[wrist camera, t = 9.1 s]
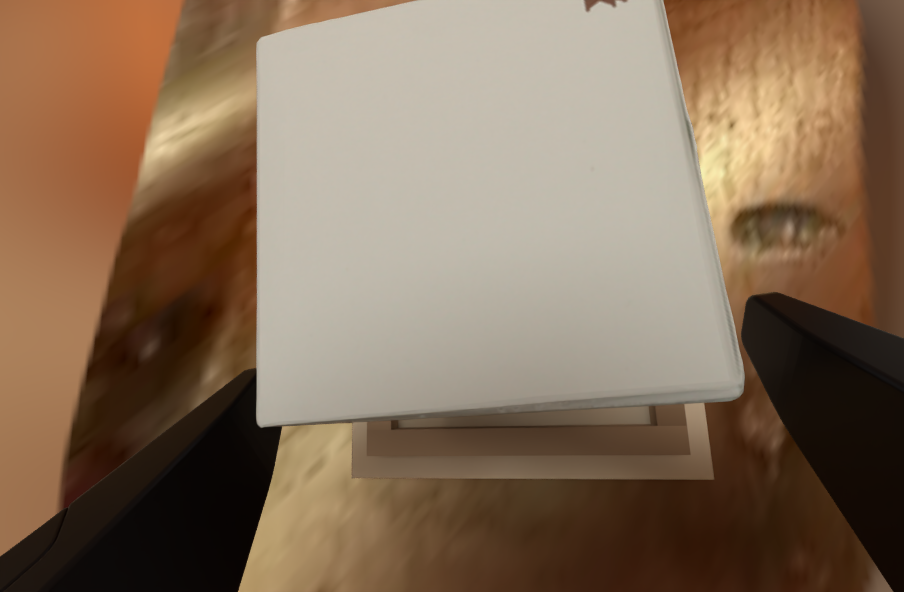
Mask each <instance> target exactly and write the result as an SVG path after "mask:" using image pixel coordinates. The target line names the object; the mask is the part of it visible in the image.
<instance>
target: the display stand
mask: <svg viewBox="0 0 904 592" xmlns="http://www.w3.org/2000/svg"><path fill="white" fill-rule="evenodd" d="M352 478H442V479H688V480H714V474H713V466H712V459H711V451H710V444H709V436H708V429H707V421H706V414H705V406H704V403H692V404H676V405H660V406H642V407H624V408H606V409H588V410H570V411H552V412H534V413H516V414H498V415H481V416H463V417H445V418H427V419H409V420H391V421H372V422H353V427H352Z"/></svg>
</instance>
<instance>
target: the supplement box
mask: <svg viewBox="0 0 904 592" xmlns="http://www.w3.org/2000/svg"><path fill="white" fill-rule="evenodd" d="M256 63H257V401H256V420H257V425H258V426H260V427H261V428H262V427H278V426H297V425H316V424H334V423H353V422H372V421H391V420H409V419H427V418H445V417H463V416H481V415H498V414H516V413H534V412H552V411H570V410H588V409H606V408H624V407H642V406H660V405H676V404H692V403H708V402H724V401H732V400H735V399H737V398H738V397H740V396H741V394H742V393H743V391H744V379H745V375H744V368H743V362H742V358H741V355H740V351H739V346H738V341H737V336H736V330H735V325H734V321H733V316H732V312H731V308H730V304H729V300H728V296H727V292H726V288H725V283H724V278H723V274H722V269H721V264H720V260H719V255H718V250H717V246H716V241H715V236H714V232H713V227H712V223H711V218H710V214H709V209H708V205H707V200H706V196H705V191H704V186H703V182H702V177H701V171H700V165H699V159H698V154H697V146H696V141H695V137H694V131H693V126H692V123H691V120H690V118H689V115H688V112H687V108H686V103H685V99H684V95H683V90H682V84H681V80H680V76H679V71H678V67H677V62H676V58H675V53H674V49H673V44H672V39H671V35H670V30H669V25H668V21H667V16H666V11H665V7H664V2H663V0H417V1H413V2H408V3H403V4H399V5H394V6H390V7H386V8H381V9H377V10H372V11H368V12H363V13H359V14H355V15H350V16H346V17H342V18H338V19H331V20H327V21H323V22H319V23H313V24H308V25H304V26H300V27H296V28H292V29H287V30H284V31H281V32H278V33H275V34H271V35H268V36H264V37H261V38H260V40H259V41H258V42H257V49H256Z"/></svg>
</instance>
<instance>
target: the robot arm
mask: <svg viewBox="0 0 904 592" xmlns="http://www.w3.org/2000/svg"><path fill="white" fill-rule="evenodd" d="M741 338H742V342H743V345H744V348H745V350H746V352H747V354H748V356H749V358H750V360H751V362H752V364H753V366H754V368H755V370H756V372H757V374H758V376H759V378H760V380H761V382H762V384H763V386H764V388H765V390H766V392H767V394H768V396H769V398H770V400H771V402H772V404H773V406H774V408H775V409H776V411H777V413H778V415H779V417H780V419H781V420H782V422H783V424H784V425H785V427H786V429H787V430H788V432H789V433H790V435H791V436H792V438H793V439H794V441H795V443H796V444H797V446H798V447H799V449H800V450H801V452H802V453H803V455H804V456H805V458H806V459H807V461H808V462H809V464H810V465H811V467H812V468H813V470H814V471H815V473H816V475H817V476H818V478H819V479H820V481H821V482H822V484H823V485H824V487H825V488H826V490H827V491H828V493H829V494H830V496H831V497H832V499H833V500H834V502H835V503H836V505H837V507H838V508H839V510H840V511H841V513H842V514H843V516H844V517H845V519H846V520H847V522H848V523H849V525H850V526H851V528H852V529H853V531H854V532H855V534H856V535H857V537H858V539H859V540H860V542H861V543H862V545H863V546H864V548H865V549H866V551H867V552H868V554H869V555H870V557H871V558H872V560H873V561H874V563H875V564H876V566H877V567H878V569H879V571H880V572H881V574H882V575H883V577H884V578H885V580H886V581H887V583H888V584H889V585H890V587H891V589H892V590H893V592H904V338H901V337H898V336H896V335H893V334H890V333H887V332H885V331H882V330H879V329H877V328H874V327H871V326H868V325H866V324H863V323H860V322H857V321H855V320H852V319H849V318H847V317H844V316H841V315H838V314H836V313H833V312H830V311H827V310H825V309H822V308H819V307H816V306H814V305H811V304H808V303H806V302H803V301H800V300H797V299H795V298H792V297H789V296H786V295H784V294H781V293H778V292H769V293H762V294H756V295H752V296H750V297H749V298H748V300H747V302H746V306H745V312H744V319H743V325H742V331H741ZM256 401H257V368H254V369H248V370H245V371H244V372H242V373H241V374H239V375H238V376H237V377H236V378H234V379H233V380H232V381H230V382H229V383H228V384H226V385H225V386H224V387H223V388H221V389H220V390H219V391H217V392H216V393H215V394H213V395H212V396H211V397H209V398H208V399H207V400H206V401H204V402H203V403H202V404H200V405H199V406H198V407H196V408H195V409H194V410H192V411H191V412H190V413H189V414H187V415H186V416H185V417H183V418H182V419H181V420H179V421H178V422H177V423H175V424H174V425H173V426H172V427H170V428H169V429H168V430H166V431H165V432H164V433H162V434H161V435H160V436H158V437H157V438H156V439H155V440H153V441H152V442H151V443H149V444H148V445H147V446H145V447H144V448H143V449H141V450H140V451H139V452H138V453H136V454H135V455H134V456H132V457H131V458H130V459H128V460H127V461H126V462H124V463H123V464H122V465H121V466H119V467H118V468H117V469H115V470H114V471H113V472H111V473H110V474H109V475H107V476H106V477H105V478H104V479H102V480H101V481H100V482H98V483H97V484H96V485H94V486H93V487H92V488H90V489H89V490H88V491H87V492H85V493H84V494H83V495H81V496H80V497H79V498H77V499H76V500H75V501H73V502H72V503H71V504H70V505H69V508H64V509H63V510H61V511H60V512H59V513H58V514H56V515H55V516H54V517H52V518H51V519H50V520H48V521H47V522H46V523H45V524H43V525H42V526H41V527H39V528H38V529H37V530H35V531H34V532H33V533H31V534H30V535H29V536H27V537H26V538H25V539H23V540H22V541H21V542H20V543H18V544H16V545H15V546H14V547H12V548H11V549H10V550H9V551H7V552H6V553H5V554H3V555H2V556H0V592H238V590H239V587H240V583H241V580H242V577H243V573H244V570H245V567H246V563H247V560H248V557H249V553H250V550H251V547H252V543H253V540H254V537H255V533H256V530H257V527H258V523H259V520H260V517H261V514H262V510H263V507H264V504H265V500H266V497H267V494H268V490H269V487H270V483H271V479H272V475H273V471H274V466H275V461H276V456H277V451H278V445H279V440H280V435H281V430H282V426H278V427H262V428H261V427H260V426H258V425H257V420H256Z"/></svg>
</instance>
